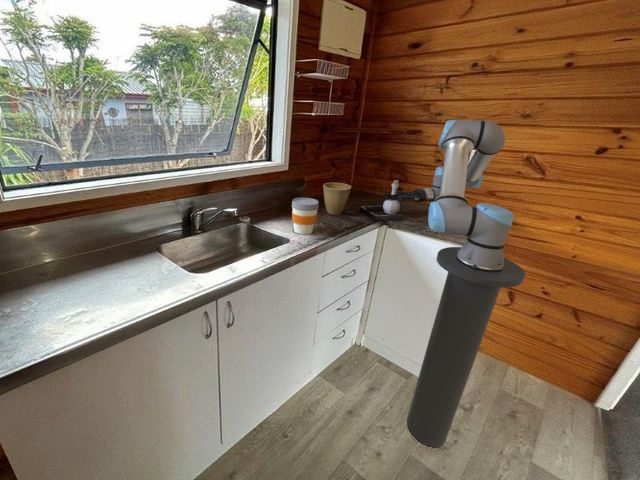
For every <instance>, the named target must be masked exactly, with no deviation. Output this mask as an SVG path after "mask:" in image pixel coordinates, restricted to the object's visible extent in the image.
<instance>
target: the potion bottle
mask: <svg viewBox="0 0 640 480" xmlns="http://www.w3.org/2000/svg"><path fill="white" fill-rule="evenodd" d="M399 186H400V184H399V179H394V180H393V183H391V188H392V189H391V193H392V194H391V195H396V192H397V191H398V190H397V189H398V188H399ZM382 206H383V209H384V211H383V212H384V213H386V214H389V215H396V214H397V213H398V212H400V209H401V203H400V200H397V199H396V200H384V202H383V204H382Z"/></svg>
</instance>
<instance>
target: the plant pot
mask: <svg viewBox="0 0 640 480" xmlns="http://www.w3.org/2000/svg"><path fill="white" fill-rule="evenodd" d="M322 189H323V198H324V205H325V209H326V212H327V214H329V215H334V216H339V215H341V214H342V212H343V210H344V208H345V206H346V204H347V201H348V199H349V196H350V192H351V189H352V186H351V185H349V184H346V183H342V182H326V183H324V184H323V187H322Z"/></svg>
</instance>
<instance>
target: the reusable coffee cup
mask: <svg viewBox="0 0 640 480" xmlns="http://www.w3.org/2000/svg"><path fill="white" fill-rule="evenodd" d="M291 208H292V211H291V217H292V218H291V219H292V222H293V223H292V224H293V231H294V233H296V234H300V235H310V234H312V233H313V231H314V226H315V223H316V221H317V218H318V210H319V209H320V207H319V200H317V199H315V198H311V197H295V198H293V199H292V201H291ZM310 231H311V232H310Z"/></svg>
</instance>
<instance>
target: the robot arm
mask: <svg viewBox="0 0 640 480" xmlns="http://www.w3.org/2000/svg"><path fill="white" fill-rule="evenodd" d="M505 143H506V135H505V132H504V130H503V128H502V127H501V126H500V125H499V124H497V123H496V122H493V121H491V120H471V119H449V120H447V121H446V122H445V124H444V127H443V130H442V133H441V136H440V138H439V142H438V147H440V148H441V150H442V152H443V153H444V160H443V166H437V167H436V168H435V171H434V174H433V180H432V183H431V184H432V185H431V188H430V187H429V188H427V187H425V188H415V189H414V190H413V191H411V190H410V191H406V190H400V191H398V190H397V191H396V195H391V194H392V192H388V193H385V192H383V193H382V195H381V199H384V201H386V200H396V199H397V200H398V201H399V202H414V203H430V204H429V207H428V213H427V214H428V216H427V222H428V227H429V229H430V230H431V231H434V232H438V233H442V234H449V235H457V236H461V237H467V239H466V241H465V243H464V244H463V245H462V246H461V247H462V248H461V249H457V251H459V252H458V253H457V257H456V258H457V260H458V261H459V262H460V263H462V264H464V265H466V266H468V267H470V268H472V269H473V270H475V269H477V270H481V271H486V272H499V271H501V270H502V269H503V266H504V258H505V257H504V247H505V244H506V241H507V239H508V236H509V233H510V231H511V227H512V226H513V221H514V213H512V211H510V210H509V209H506V208H504V207H502V206H498V205H495V204H491V203H486V202H483V203H482V202H480V203H477V204H476V206H469V200H468V199H467V197H465V193H466V188H470V189H474V188H475V189H477V188H480V187H481V186H482V184H483V179H484V176H483V173H484V172H485V170H486V169H487V167H488V166H489V164H490V162H491V161H492V159H493V158H494V157H495V155H498V154H499V153H500V152H501V151H502V149H503V147H504V145H505ZM474 149H475V151H474V153H473V154H472V156H471V158H470V159H469V155H470V153H471V152H472V151H473V150H474Z"/></svg>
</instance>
